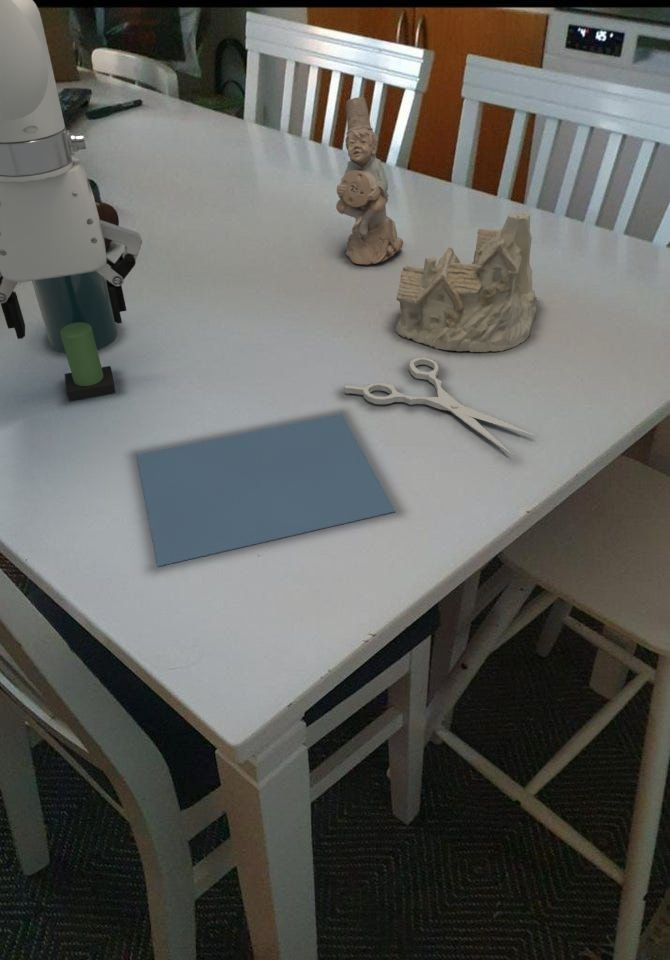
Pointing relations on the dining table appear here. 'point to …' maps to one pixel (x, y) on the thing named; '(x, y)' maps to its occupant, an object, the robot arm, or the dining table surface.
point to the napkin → (257, 488)
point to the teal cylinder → (76, 307)
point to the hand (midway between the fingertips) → (70, 325)
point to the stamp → (84, 364)
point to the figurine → (365, 192)
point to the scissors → (431, 399)
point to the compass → (107, 217)
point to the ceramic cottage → (473, 294)
